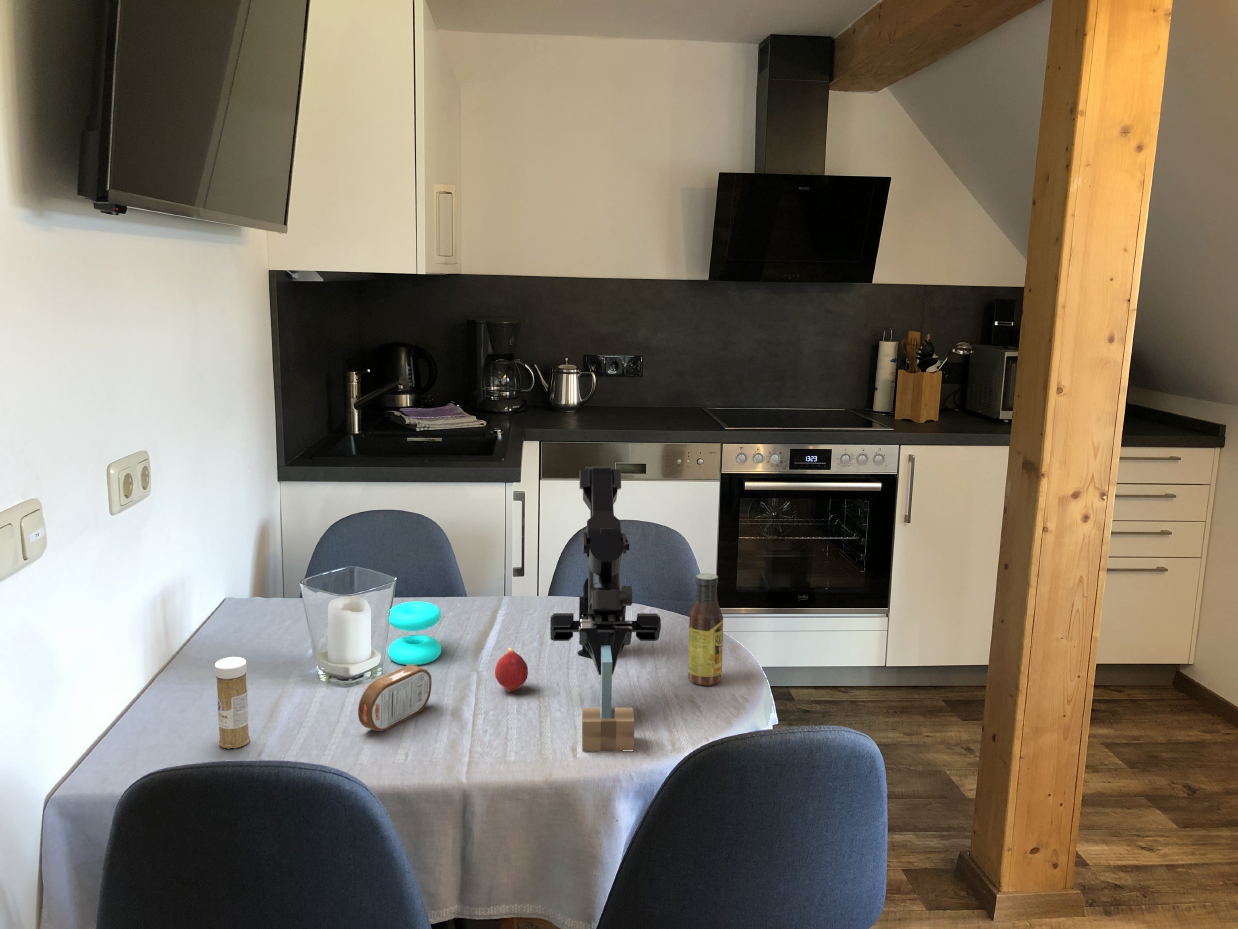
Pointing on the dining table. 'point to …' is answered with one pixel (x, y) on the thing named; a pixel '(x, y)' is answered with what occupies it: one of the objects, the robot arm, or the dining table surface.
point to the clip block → (607, 730)
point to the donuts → (414, 646)
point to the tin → (394, 697)
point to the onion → (511, 671)
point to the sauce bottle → (705, 633)
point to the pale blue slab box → (606, 682)
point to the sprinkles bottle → (232, 702)
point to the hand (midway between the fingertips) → (605, 674)
